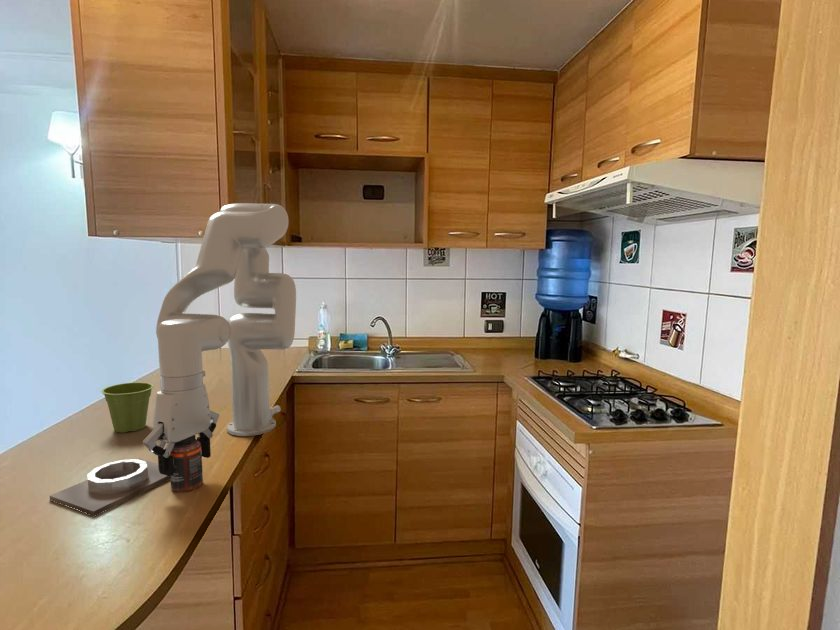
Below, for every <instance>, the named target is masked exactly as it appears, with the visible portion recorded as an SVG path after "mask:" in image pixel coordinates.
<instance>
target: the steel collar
mask: <svg viewBox="0 0 840 630" xmlns="http://www.w3.org/2000/svg"><path fill="white" fill-rule="evenodd" d="M138 459H139V458H137V459H136V458H135V459H133V458H132V459H121V460H116V461H111V462H108V463H104V464H103V465H99V466H97V467H95V468H93V469H92V470H91V471H90V472H88V473H87V475H86V476H87V480H88V488H89V492H91V493H94V494H97V495H106V494H116V493H120V492H124V491H128V490H131V489H133V488H135V487H137V486H139V485H141V484H143V483H144V482H145V481H146V479H147V478H148V467H147V464H146V462H145V461H142V460H138ZM123 473H132V474H130V475H127V476H124V477H120V478H116V479H106V478H108V477H110V476H114V475H118V474H123Z"/></svg>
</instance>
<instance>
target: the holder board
mask: <svg viewBox="0 0 840 630" xmlns="http://www.w3.org/2000/svg"><path fill="white" fill-rule="evenodd" d="M137 459H138V460H142V461H145V462H146V464H147V467H148V478H147V479H146V481H145V482H144V483H143V484H141V485H139V486H137V487H135V488H133V489H131V490H128V491H124V492H120V493H116V494H106V495H97V494H94V493H91V492H89V488H88V479H86V480H83V481H81V482H79V483H77V484H74V485H71V486H70V487H67V488H65V489H62V490H60V491H57V492H54V493H52V494H50V495H49V501H50V500H52V501H51V502H53V501H55V502H57V503H56V504H58V503H61V504H63V505H67V506H69V507H72V508H75V509H78V510H80V511H82V512H86V513H87V514H86V515H88V514H90V515H89V516H91V515H92V516H91V517H93V516H94V517H96V516H98V515H100V514H102V513H104V512H106V511H108V510H111V509H112V507H113V508H114V506H115V507H117V506H118V505H120V504H123V503H124V502H127V501H128V500H131V499H133V498H134V497H137V496H139V495H141V494H143V493H145V492H148V491H149V490H151V489H153V488H155V487H157V486H159V485H162V484H164V483H166V482H167V480H168V481H169V480H170V476H167V475H164V474H160V472H159V467H158V463H157V462H153V461H150V460H146V459H143V458H137ZM130 474H132V473H123V474H118V475H114V476H110V477H108V478H106V479H116V478H120V477H124V476H127V475H130ZM126 500H127V501H126ZM55 502H54V503H55ZM61 504H60V505H61ZM63 505H62V506H63ZM116 505H117V506H116ZM69 507H68V508H69ZM72 508H71V509H72ZM110 508H111V509H110ZM105 510H106V511H105ZM80 511H79V512H80ZM103 511H104V512H103ZM82 512H81V513H82ZM101 512H102V513H101ZM99 513H100V514H99ZM97 514H98V515H97ZM95 515H96V516H95Z"/></svg>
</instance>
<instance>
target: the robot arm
mask: <svg viewBox="0 0 840 630" xmlns="http://www.w3.org/2000/svg"><path fill="white" fill-rule="evenodd" d="M289 223H290V222H289V215H288V212H287V210H286V209H285V208H284V207H283V206H282V205H280V204H277V203H251V202H249V203H247V202H244V203H243V202H242V203H240V202H239V203H238V202H237V203H229V204H225V205H223V206H222V207H221V208H220V210H219V211H218V212H216V213H214V214H211V216H210V217H209V219H208V221H207V224H206V227H205V230H204V231H205V232H204V234H203V238H202V242H201V245H200V250H199V253H198V256H197V260H196V263H195V266H194V267H193V268H192V269H191V270H190V271H189V272H187V273H186V274H184V275H183V277H181V278H180V279H179V280H178V281H177V282H176V283H175V284H174V285H173V286H172V287H171V288H170V289H169V291H168V292H167V293H166V295H165V296H164V299H163V301H162V304H161V307H160V311H159V313H158V318H157V321H156V329H155V331H156V332H155V333H156V338H157V346H158V347H157V349H158V363H159V364H158V367H159V385H160V390H159V391H157V392H156V395H155V399H154V407H153V421H152V423H153V424H152V427H153V428H152V430H151V432H150V433H149V434H148V435H147V436H146V437H144V439H143V440H142V444H143V445H144V446H145V447H146V448H147V449H148V451H149V452H151V453H152V454H154V456H157V462H158V467H159V472H160V474H164V475H167V476H172V475H173V474H174V470H173V456H171V455H170V453H171V451H172V448H173V446H174V444H175V443H177V442H179V441H182V440H184V439H186V438H188V437H191V436H193V435H195V436H196V435H198V436H196V440H198V441H199V442H200V443H201V454H202V458H206V459H208V458H211V454H212V453H211V452H212V451H211V439H212V438H213V436H214V434H213V433H214V431H215V429H216V428H217V423H218V421H219V419H220V413H217V412H215V411H214V410H213V411H212V410H210V408H211V407H210V401H209V395H208V391H207V388H206V384H205V383H204V379H203V378H205V377H206V371H205V370H203V354H202V353H203V352H207V351H214V350H219V349H220V348H222V347H224V346H225V345H226V344H227V345H228V351H229V358H230V376H231V378H230V379H231V380H230V381H231V406H232V421H231V422H229V423H227V425H226V432H227V433H228V434H230V435H231V436H237V437H253V436H254V437H255V436H258V435H259V436H261V435H263V434H266V433H268V432H272V431H273V429H275V428H276V426H277V422H276V421H277V420H275V418H273V416H274V414H277V413H279V412H280V411H281V406H280V405H274V406H273V407H271V406H270V404H271V403H270V373H269V372H270V370H269V369H270V368H269V362H268V359H267V358H266V356H265V354H264V353H263V352H262V350H270V351H271V350H274V351H275V350H277V351H278V350H279V351H281V350H283V351H284V350H287V349H289V348H290V347H291V346H292V345H293V343H294V340H295V335H296V333H295V331H296V310H297V309H296V307H297V289H296V288H297V287H296V284H295V280H294V279H293V278H292V276H290V274H287V273H281V272H270V268H269V267H270V254H269V252H268V250H267V247H270V246H272V245H273V244H275V243H276V242H277V241H278V240H280V239H282V238H283V237H284V236H285V234H286V233H287V231H288V228H289ZM232 282H234V283H233V285H234V286H233V296H234V301H235V303H236V304H237V305H238V306H240V307H242V308H248V309H271V310H273V309H274V313H261V312H259V313H257V312H241V313H236V314H234V315H232V316H230V318H228V319H226V318H225V317H223V316H220V315H218V314H209V313H208V314H203V313H186V311H187V309H188V307H189V306H190V305H191V304H192V303H193V302H194V301H195V300H197V299H198V298H199V297H201V296H203V295H205V294H207V293H210V292H212V291H214V290H216V289H219V288H221V287H223V286H226V285H228V284H230V283H232ZM157 441H159V442H158V444H157Z"/></svg>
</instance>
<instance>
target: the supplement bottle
mask: <svg viewBox="0 0 840 630" xmlns="http://www.w3.org/2000/svg"><path fill="white" fill-rule="evenodd" d="M170 455H171V456H173V470H174V474H173V475H172V476H170V488H171V490H172V491H174V492H179V493H182V492H189V491H194V490H195V489H197V488H198V487H200V486H201V485H202V484H203V482H204V479H203V478H204V477H203V476H204V475H203V473H204V472H203V457H202V454H201V443H200V442H199V441H198V440H197V436H196V435H193V436H191V437H188V438H186V439H184V440H182V441H179V442H177V443H175V444H174V446H173V448H172V451H171V453H170Z"/></svg>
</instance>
